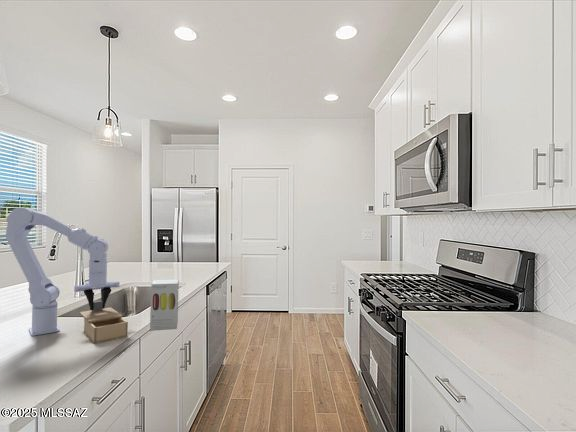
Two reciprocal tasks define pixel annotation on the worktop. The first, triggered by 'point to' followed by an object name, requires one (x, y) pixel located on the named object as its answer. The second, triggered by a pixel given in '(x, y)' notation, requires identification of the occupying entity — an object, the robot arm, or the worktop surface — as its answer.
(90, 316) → the carton lid
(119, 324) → the carton
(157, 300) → the supplement box
